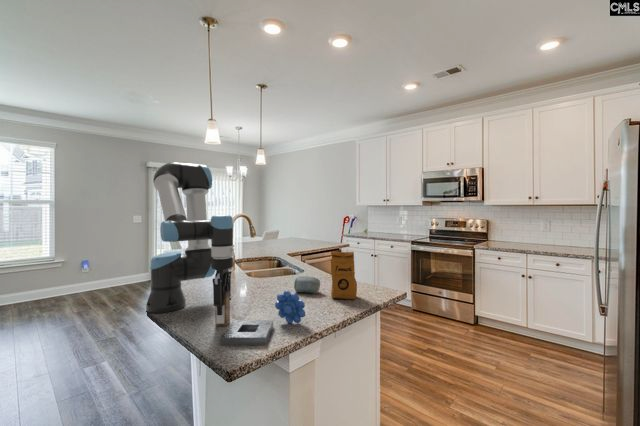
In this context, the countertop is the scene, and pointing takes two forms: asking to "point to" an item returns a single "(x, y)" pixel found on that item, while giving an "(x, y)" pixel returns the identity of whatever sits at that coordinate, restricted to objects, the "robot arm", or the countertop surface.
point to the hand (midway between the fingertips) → (222, 320)
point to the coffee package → (343, 276)
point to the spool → (307, 284)
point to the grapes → (290, 307)
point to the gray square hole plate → (247, 333)
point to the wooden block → (227, 308)
